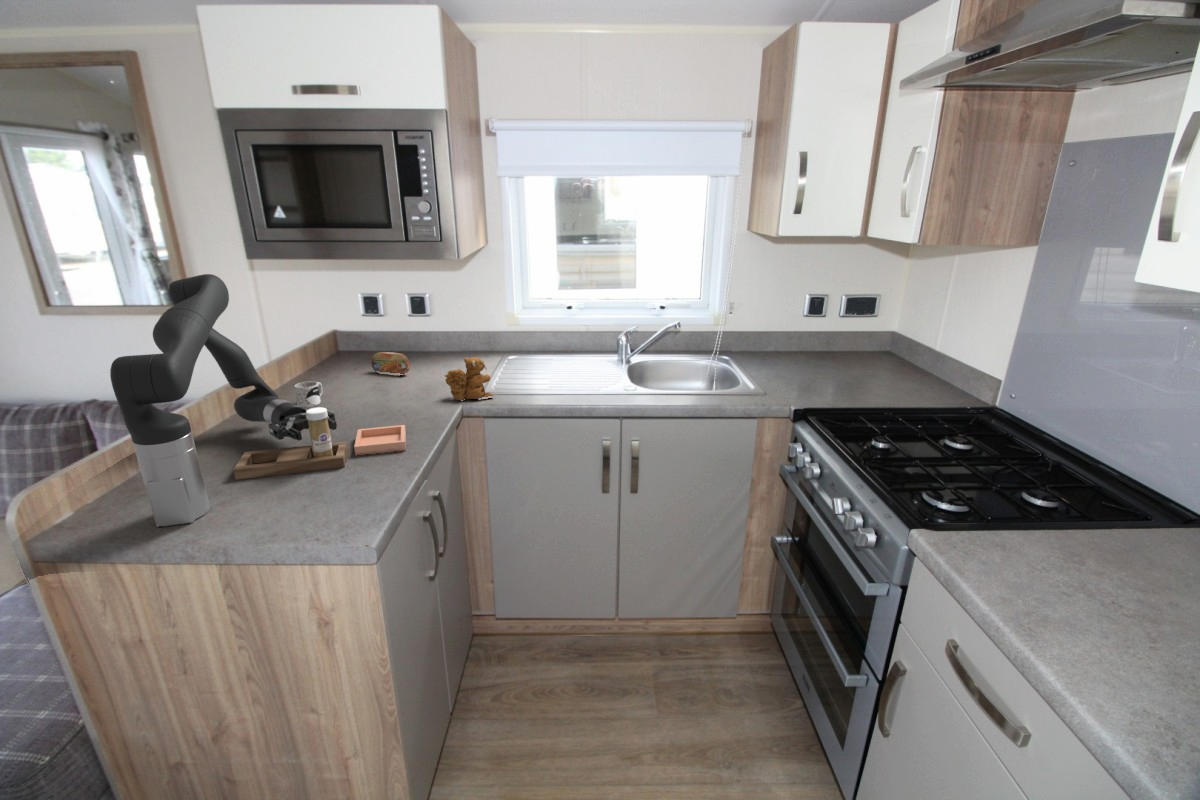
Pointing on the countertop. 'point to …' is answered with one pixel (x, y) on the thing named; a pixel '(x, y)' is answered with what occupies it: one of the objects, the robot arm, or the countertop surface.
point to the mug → (308, 393)
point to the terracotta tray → (380, 440)
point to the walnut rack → (288, 461)
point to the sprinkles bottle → (319, 432)
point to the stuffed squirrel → (468, 380)
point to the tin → (390, 362)
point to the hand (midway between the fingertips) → (317, 430)
